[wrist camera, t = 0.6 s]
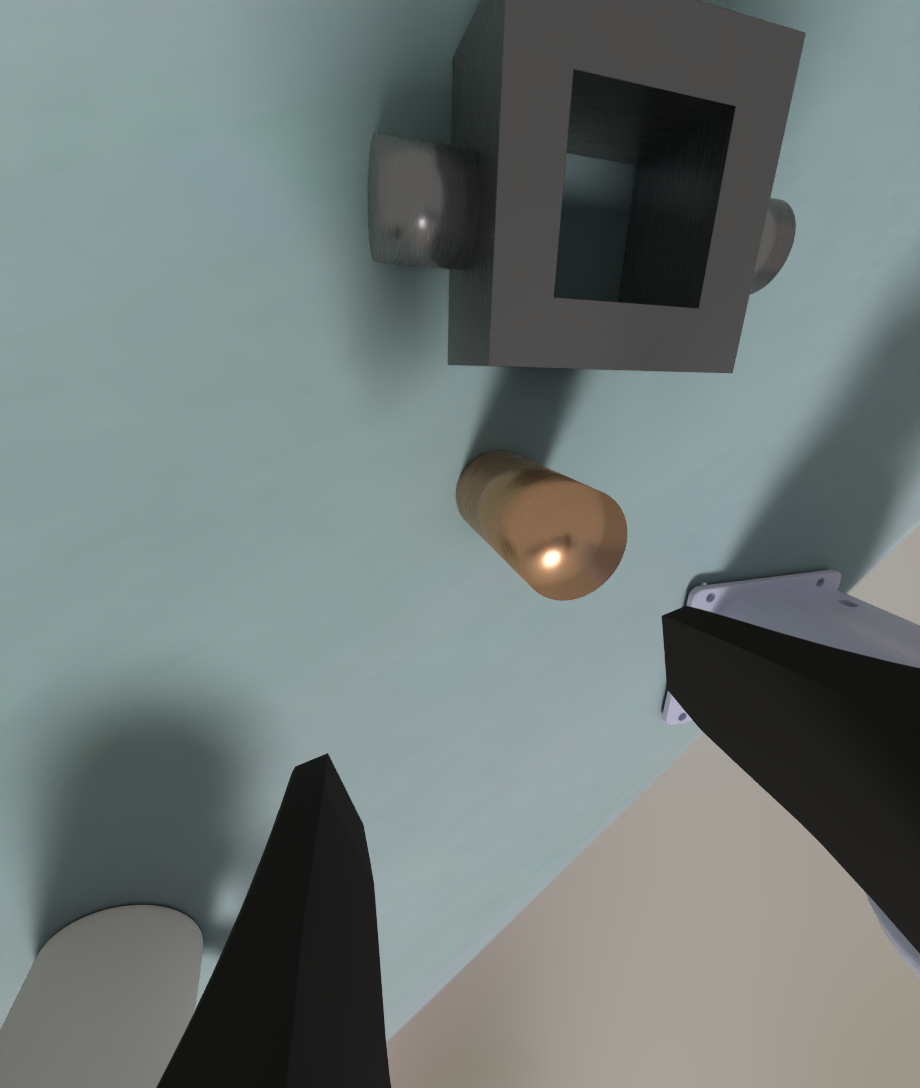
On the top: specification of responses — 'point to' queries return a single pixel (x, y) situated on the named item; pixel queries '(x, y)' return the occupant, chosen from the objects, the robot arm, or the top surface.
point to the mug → (104, 1002)
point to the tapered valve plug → (543, 523)
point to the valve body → (608, 133)
